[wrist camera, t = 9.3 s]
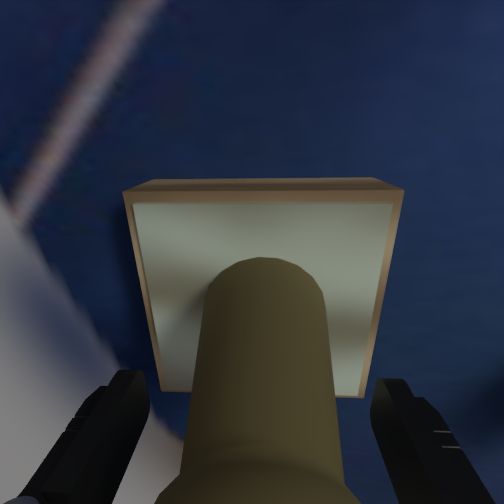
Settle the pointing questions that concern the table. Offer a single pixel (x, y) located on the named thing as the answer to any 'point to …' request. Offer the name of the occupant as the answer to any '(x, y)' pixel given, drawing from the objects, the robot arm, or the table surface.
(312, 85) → the table surface
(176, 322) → the base block
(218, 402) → the cork
